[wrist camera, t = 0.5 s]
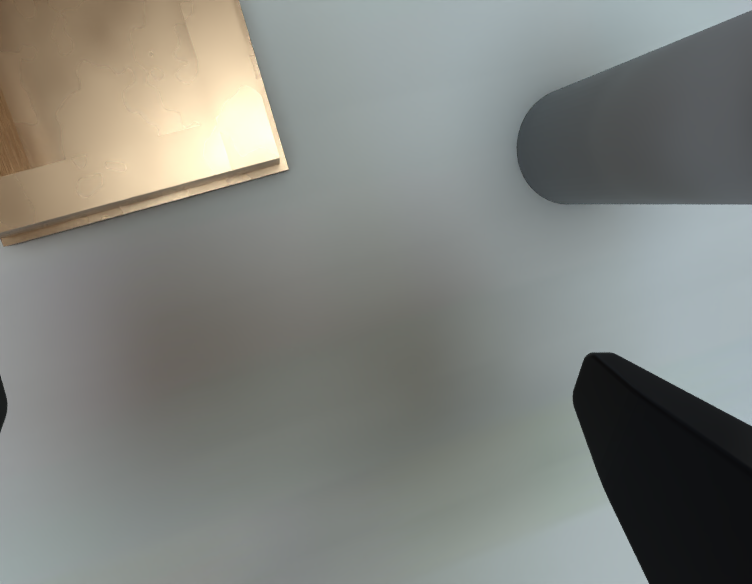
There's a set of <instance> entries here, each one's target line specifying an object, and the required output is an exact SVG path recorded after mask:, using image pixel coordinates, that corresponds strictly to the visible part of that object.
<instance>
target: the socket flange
mask: <svg viewBox="0 0 752 584" xmlns="http://www.w3.org/2000/svg"><path fill="white" fill-rule="evenodd" d="M287 170H289V169H288V165H287V162H286V159H285V155H284V152H283V148H282V145H281V142H280V138H279V135H278V132H277V128H276V125H275V121H274V118H273V115H272V111H271V108H270V105H269V101H268V98H267V94H266V91H265V88H264V84H263V81H262V78H261V74H260V71H259V67H258V64H257V61H256V57H255V54H254V50H253V47H252V44H251V40H250V37H249V34H248V30H247V27H246V23H245V20H244V17H243V13H242V10H241V7H240V3H239V0H0V239H1V241H2V244H3V246H4V247H5V246H11V245H15V244H19V243H23V242H26V241H30V240H34V239H37V238H41V237H45V236H48V235H52V234H56V233H59V232H63V231H67V230H70V229H74V228H78V227H81V226H85V225H89V224H92V223H96V222H100V221H103V220H107V219H111V218H114V217H118V216H122V215H125V214H129V213H133V212H137V211H140V210H144V209H148V208H151V207H155V206H159V205H162V204H166V203H170V202H173V201H177V200H181V199H184V198H188V197H192V196H195V195H199V194H203V193H206V192H210V191H214V190H217V189H221V188H225V187H228V186H232V185H236V184H240V183H243V182H247V181H251V180H254V179H258V178H262V177H265V176H269V175H273V174H276V173H280V172H284V171H287Z"/></svg>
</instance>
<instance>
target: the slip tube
mask: <svg viewBox="0 0 752 584" xmlns="http://www.w3.org/2000/svg"><path fill="white" fill-rule="evenodd" d="M517 156H518V162H519V166H520V169H521V172H522V174H523V176H524V178H525V179H526V181H527V183H528V184H529V185H530V187H531V188H532V189H533V190H534V191H535V192H536V193H538V194H539V195H540V196H542V197H544V198H545V199H547V200H550V201H552V202H555V203H560V204H752V10H751V11H749V12H746V13H744V14H742V15H739V16H737V17H734V18H732V19H729V20H727V21H725V22H722V23H720V24H717V25H715V26H712V27H710V28H707V29H705V30H703V31H700V32H698V33H695V34H693V35H690V36H688V37H686V38H683V39H681V40H678V41H676V42H673V43H671V44H668V45H666V46H664V47H661V48H659V49H656V50H654V51H651V52H649V53H647V54H644V55H642V56H639V57H637V58H634V59H632V60H629V61H627V62H625V63H622V64H620V65H617V66H615V67H612V68H610V69H608V70H605V71H603V72H600V73H598V74H595V75H593V76H590V77H588V78H586V79H583V80H581V81H578V82H576V83H573V84H571V85H569V86H566V87H564V88H561V89H559V90H556V91H554V92H552V93H550V94H548V95H546V96H544V97H543V98H541V99H540V100H539V101H538V102H537V103H536V104H534V106H533V107H532V108H531V109H530V110H529V112H528V113H527V115H526V116H525V118H524V120H523V122H522V125H521V128H520V131H519V135H518V140H517Z"/></svg>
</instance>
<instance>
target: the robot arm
mask: <svg viewBox="0 0 752 584" xmlns="http://www.w3.org/2000/svg"><path fill="white" fill-rule="evenodd" d="M573 405H574V408H575V411H576V414H577V417H578V419H579V422H580V425H581V428H582V431H583V433H584V436H585V439H586V442H587V445H588V447H589V450H590V453H591V456H592V459H593V462H594V464H595V467H596V470H597V473H598V475H599V478H600V480H601V483H602V485H603V488H604V490H605V492H606V494H607V497H608V499H609V501H610V503H611V505H612V507H613V509H614V511H615V514H616V516H617V518H618V520H619V522H620V524H621V526H622V528H623V530H624V532H625V534H626V536H627V539H628V541H629V543H630V545H631V547H632V549H633V551H634V553H635V555H636V557H637V559H638V562H639V564H640V566H641V568H642V570H643V572H644V574H645V576H646V578H647V580H648V582H649V584H752V426H750V425H748V424H746V423H745V422H743V421H741V420H739V419H737V418H735V417H733V416H731V415H729V414H728V413H726V412H724V411H722V410H720V409H718V408H716V407H714V406H713V405H711V404H709V403H707V402H705V401H703V400H701V399H699V398H697V397H696V396H694V395H692V394H690V393H688V392H686V391H684V390H682V389H680V388H679V387H677V386H675V385H673V384H671V383H669V382H667V381H665V380H664V379H662V378H660V377H658V376H656V375H654V374H652V373H650V372H648V371H647V370H645V369H643V368H641V367H639V366H637V365H635V364H633V363H631V362H630V361H628V360H626V359H624V358H622V357H620V356H618V355H616V354H614V353H610V352H607V353H590V354H588V355H587V356H586V357H585V358H584V361H583V363H582V366H581V369H580V372H579V375H578V378H577V381H576V384H575V387H574V391H573ZM6 414H7V398H6V394H5V390H4V387H3V383H2V379H1V376H0V432H1V429H2V426H3V423H4V420H5V417H6Z"/></svg>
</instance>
